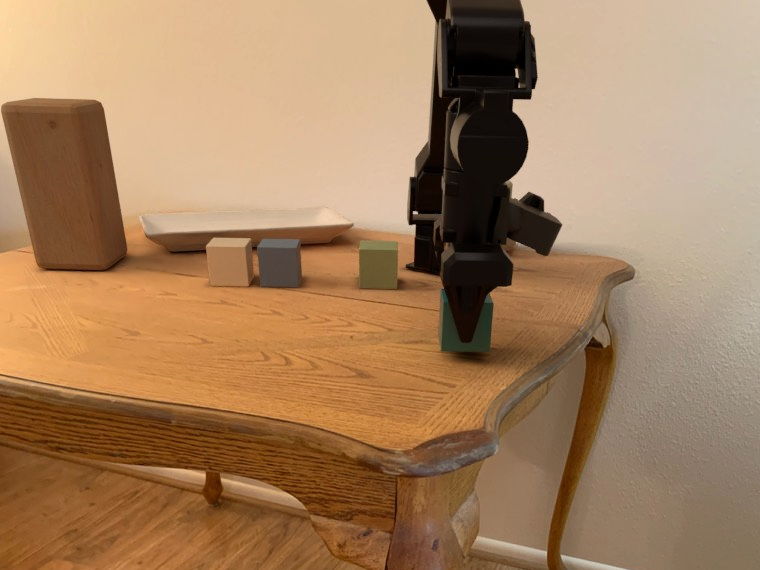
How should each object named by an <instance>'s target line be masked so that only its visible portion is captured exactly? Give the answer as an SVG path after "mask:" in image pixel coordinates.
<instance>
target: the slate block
mask: <svg viewBox="0 0 760 570" xmlns="http://www.w3.org/2000/svg"><path fill="white" fill-rule="evenodd" d="M256 251H257V264H258V265H257V266H258V276H259V286H260V287H261V288H299V286H300V284H301V281H302V279H303V271H302V270H303V269H302V252H301V251H302V248H301V244H300V239H262V240H261V242H260V244H259V245H258V247H256Z"/></svg>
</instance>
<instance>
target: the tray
mask: <svg viewBox="0 0 760 570" xmlns="http://www.w3.org/2000/svg"><path fill="white" fill-rule="evenodd" d="M138 219H139V222H140V224H141V226H142V229H143V233H144V236H145V237H146V238H147V239H149V241H152V242H154V243H155V244H157V245H159V246H162V247H165V248H166V249H167V251H169V252H174V253H175V252H191V251H193V252H194V251H206V246H207V244H208V243H209V242H210V241H211V240H212V239H213V238H251V243H252V248H257V247H258V245H259V244H260V242H261V240H262V239H300V245H310V244H311V245H313V244H327V243H330V242H332V240H333V239H334V238H336V237H338V236H340V235H342V234H345V233H346V232H347V231H349V230H350V229H351V228H353V227H354V225H355V223H354V222H352V221H351V220H349V219H348V218H346V217H345V216H343V215H341V214H340V213H338V212H337V211H335V210H333V209H331V208H329V207H326V206H308V207H290V208H289V207H287V208H285V207H284V208H265V209H264V208H263V209H262V208H261V209H240V210H215V211H211V210H209V211H183V212H182V211H181V212H157V213H145V214H141V215H139V216H138Z"/></svg>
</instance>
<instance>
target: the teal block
mask: <svg viewBox="0 0 760 570" xmlns="http://www.w3.org/2000/svg"><path fill="white" fill-rule="evenodd" d="M439 290H440V292H439V312H438V332H437V333H438V334H437V336H438V341H439V347H440V352H461V353H462V352H464V353H465V352H468V353H469V352H471V353H472V352H473V353H489V352H490V351H491V342H492V341H491V340H492V339H491V338H492V328H493V317H494V305H495V303H494V301H493V298H492V296H491V292H490V293H489V294H488V295H487V297H486V299H485V302H484V305H483V308H482V311H481V314H480V317H479V320H478V323H477V327H476V330H475V333H474V336H473V339H472V342H470V343H462V342H461V341H460V338H459V335H458V332H457V329H456V325H455V322H454V319H453V316H452V313H451V310H450V307H449V303H448V300H447V297H446V294H445V291H444V288H440V289H439Z"/></svg>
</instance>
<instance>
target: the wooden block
mask: <svg viewBox="0 0 760 570" xmlns="http://www.w3.org/2000/svg"><path fill="white" fill-rule="evenodd" d="M0 108H1V109H0V113H1V117H2V122H3V127H4V130H5V134H6V138H7V143H8V148H9V153H10V156H11V160H12V164H13V169H14V173H15V177H16V183H17V186H18V190H19V195H20V199H21V203H22V208H23V213H24V216H25V220H26V225H27V229H28V233H29V238H30V243H31V247H32V251H33V255H34V259H35V263H36V265H37V267H38V268H41V269H44V270H70V271H105V270H107V269H109V268H111V267H112V266H113V265H115V264H116V263H117V262H119V261H120V260H121V259H123V258H124V257H126V256H127V254H128V243H127V239H126V233H125V226H124V221H123V215H122V208H121V204H120V197H119V190H118V184H117V178H116V172H115V167H114V161H113V155H112V148H111V143H110V137H109V130H108V125H107V119H106V113H105V108H104V106H103V104H102V102H101V101H98V100H97V99H89V98H88V99H87V98H86V99H84V98H53V97H48V98H47V97H32V98H31V97H30V98H25V99H19V100H11V101H6V102H4V103H2V104H1V107H0Z"/></svg>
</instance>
